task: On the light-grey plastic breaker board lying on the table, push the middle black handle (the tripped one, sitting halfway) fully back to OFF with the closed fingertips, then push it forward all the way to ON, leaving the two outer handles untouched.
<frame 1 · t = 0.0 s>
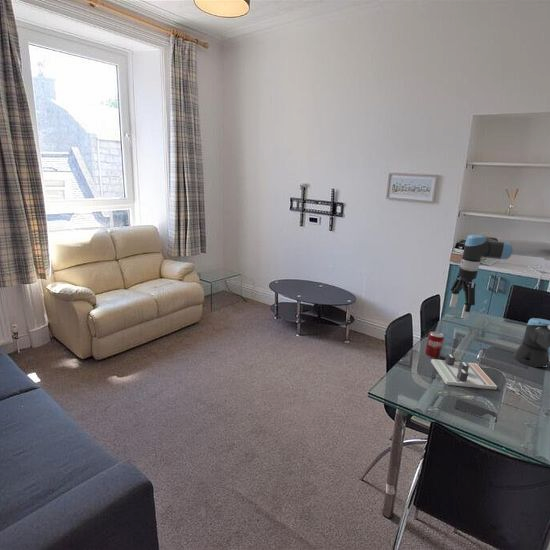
hand: (458, 312, 175), 28 cm above the table, fingers open, 13 cm apart
soda can: (431, 355, 191), on the table
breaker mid: (463, 367, 174), point 4 cm above the table, slide at 0.0 cm
smartphone: (474, 411, 149), on the table
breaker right: (462, 375, 167), point 4 cm above the table, slide at 3.5 cm
panel: (461, 374, 175), on the table
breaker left: (450, 359, 180), point 4 cm above the table, slide at 3.5 cm
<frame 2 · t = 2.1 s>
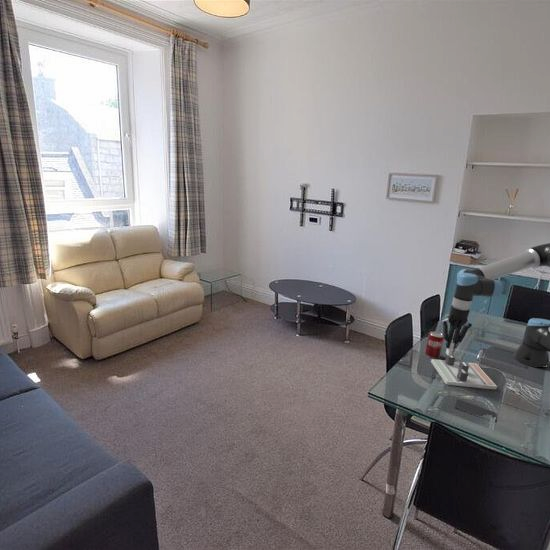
hand: (448, 354, 172), 10 cm above the table, fingers closed
nothing on the table moved.
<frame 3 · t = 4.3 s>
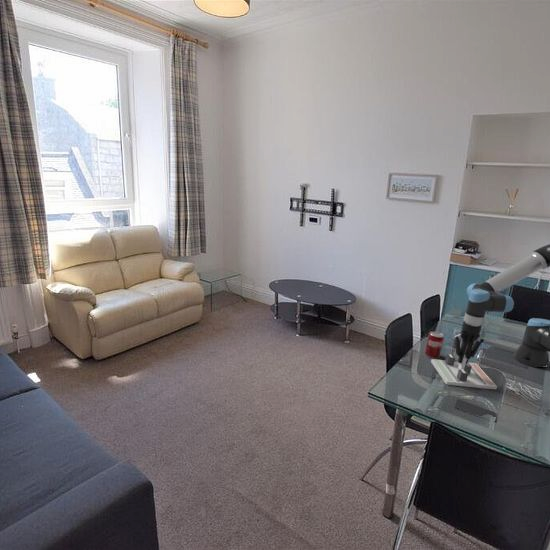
hand: (460, 369, 174), 3 cm above the table, fingers closed
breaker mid: (466, 368, 174), point 4 cm above the table, slide at -1.2 cm, touching gripper
everything else where it was.
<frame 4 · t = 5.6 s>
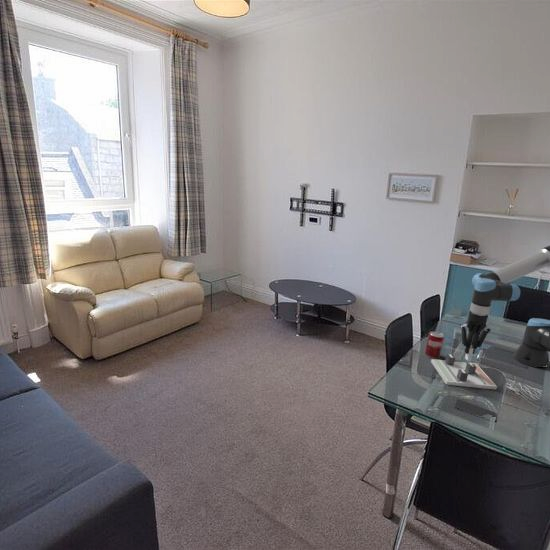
hand: (467, 359, 172), 8 cm above the table, fingers closed
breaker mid: (470, 368, 173), point 4 cm above the table, slide at -3.3 cm
everything else where it was.
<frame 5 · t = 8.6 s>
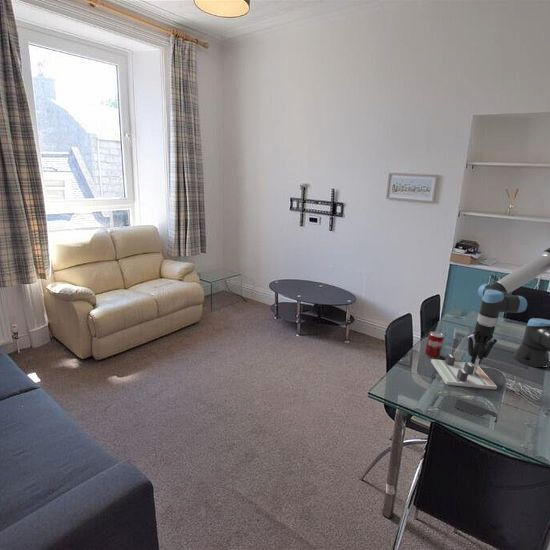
hand: (473, 369, 173), 3 cm above the table, fingers closed
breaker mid: (468, 368, 173), point 4 cm above the table, slide at -2.5 cm, touching gripper
everything else where it was.
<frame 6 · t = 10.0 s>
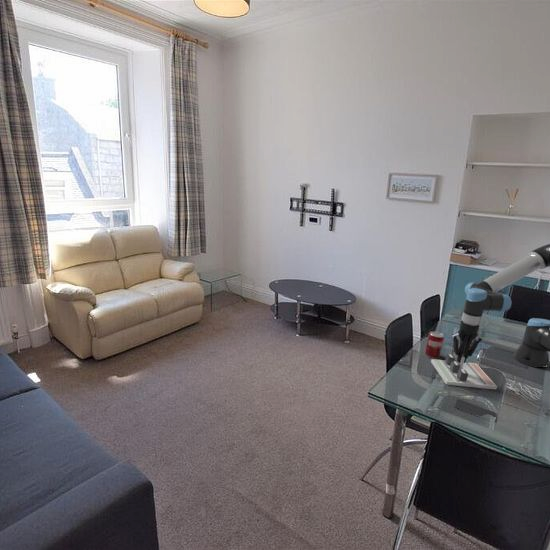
hand: (459, 368, 174), 3 cm above the table, fingers closed
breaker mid: (455, 367, 174), point 4 cm above the table, slide at 4.0 cm, touching gripper
everything else where it was.
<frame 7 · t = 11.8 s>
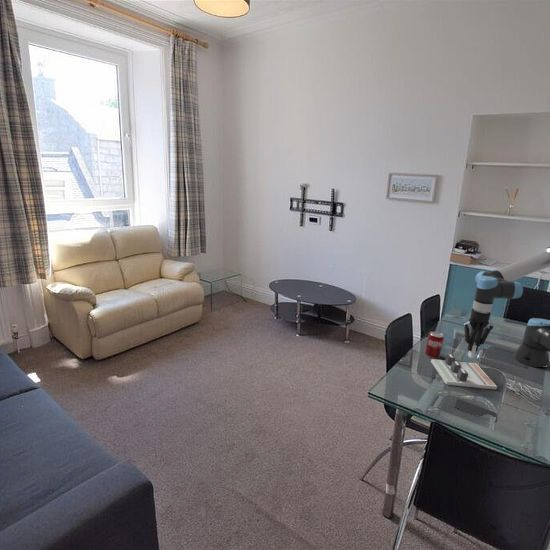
hand: (470, 356, 174), 9 cm above the table, fingers closed
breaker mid: (455, 367, 174), point 4 cm above the table, slide at 3.6 cm
everything else where it was.
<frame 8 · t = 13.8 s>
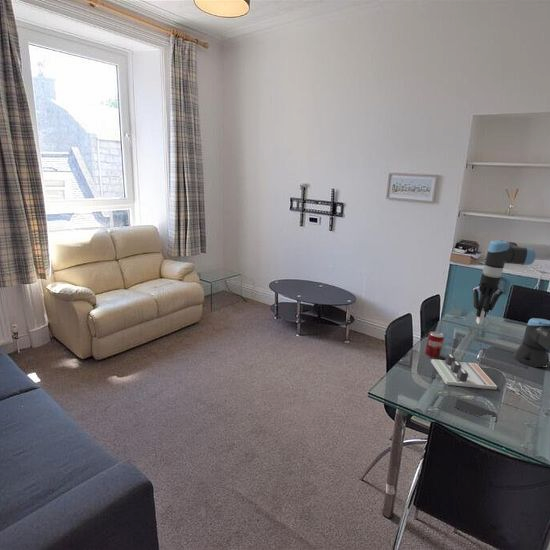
hand: (478, 323, 173), 24 cm above the table, fingers closed
nothing on the table moved.
at the end: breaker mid slide at 3.6 cm; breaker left slide at 3.5 cm; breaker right slide at 3.5 cm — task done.
